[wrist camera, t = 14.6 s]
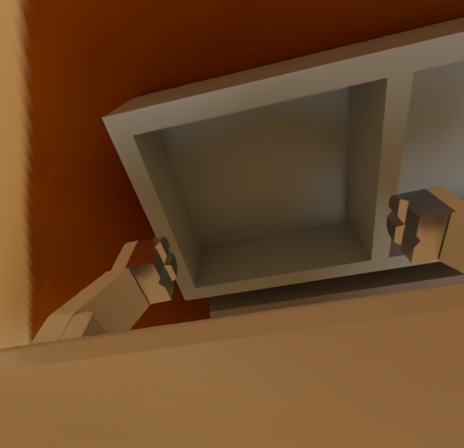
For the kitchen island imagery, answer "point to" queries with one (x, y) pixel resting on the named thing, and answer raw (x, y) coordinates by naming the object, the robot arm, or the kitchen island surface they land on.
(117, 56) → the kitchen island surface
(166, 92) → the tray
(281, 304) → the square frame
